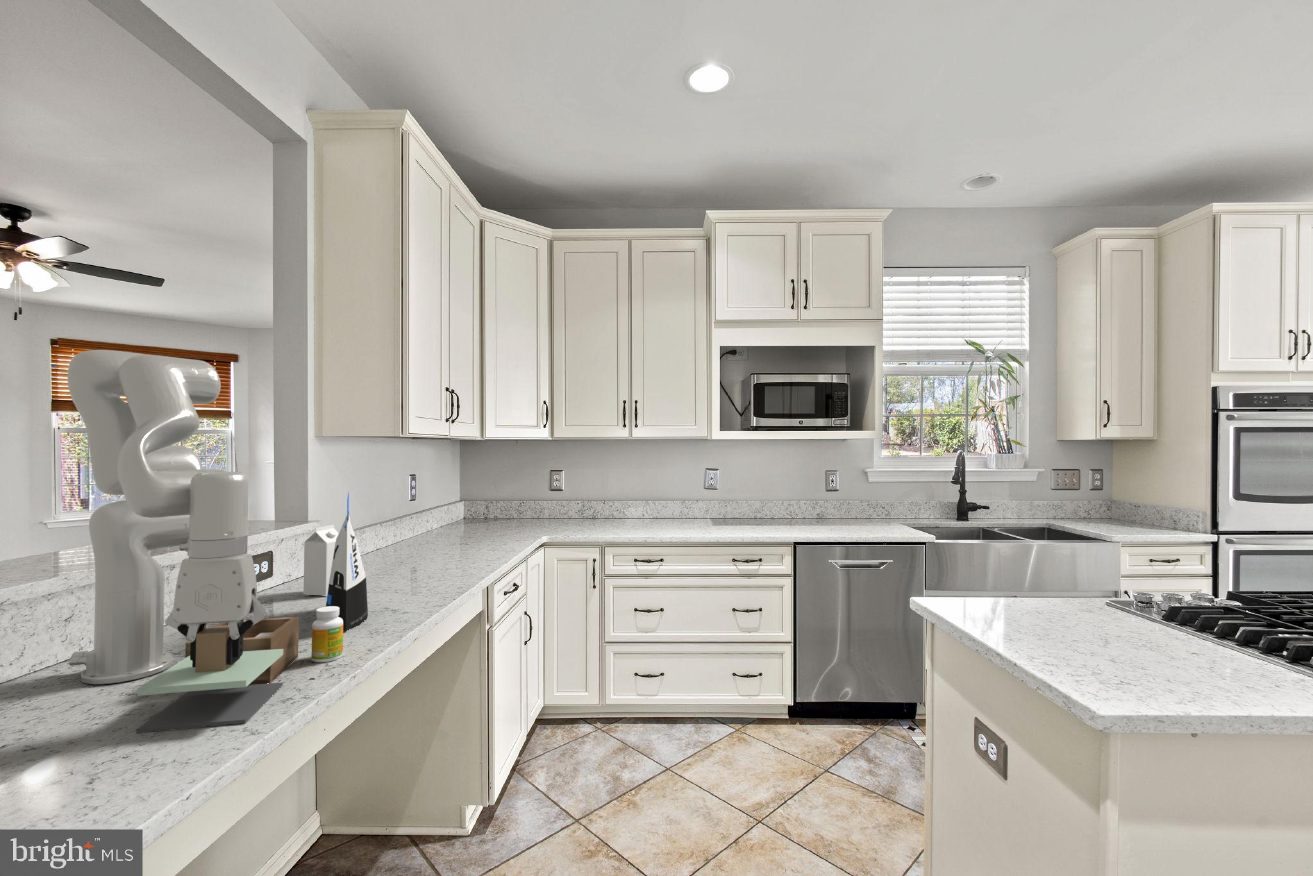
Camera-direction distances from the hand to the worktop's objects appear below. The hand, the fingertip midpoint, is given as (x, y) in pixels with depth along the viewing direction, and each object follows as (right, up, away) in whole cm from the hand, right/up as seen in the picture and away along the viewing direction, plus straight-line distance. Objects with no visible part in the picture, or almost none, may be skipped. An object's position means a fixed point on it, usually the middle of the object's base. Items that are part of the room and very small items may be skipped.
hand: (216, 661), depth 93 cm
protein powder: (-5, -8, +48) cm, 49 cm away
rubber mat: (0, -7, 0) cm, 7 cm away
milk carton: (-24, -8, +71) cm, 76 cm away
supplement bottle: (+5, -8, +22) cm, 24 cm away
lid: (0, -2, 0) cm, 2 cm away
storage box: (-5, -7, +14) cm, 17 cm away
